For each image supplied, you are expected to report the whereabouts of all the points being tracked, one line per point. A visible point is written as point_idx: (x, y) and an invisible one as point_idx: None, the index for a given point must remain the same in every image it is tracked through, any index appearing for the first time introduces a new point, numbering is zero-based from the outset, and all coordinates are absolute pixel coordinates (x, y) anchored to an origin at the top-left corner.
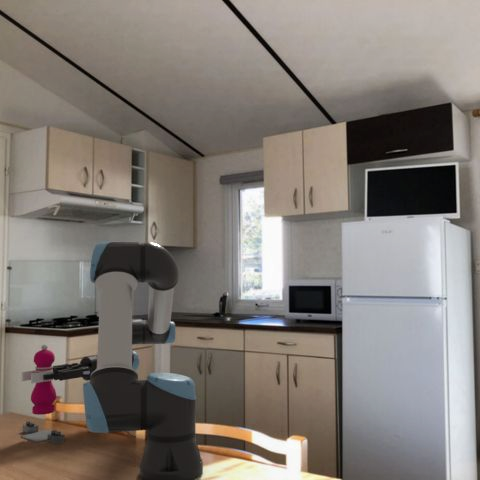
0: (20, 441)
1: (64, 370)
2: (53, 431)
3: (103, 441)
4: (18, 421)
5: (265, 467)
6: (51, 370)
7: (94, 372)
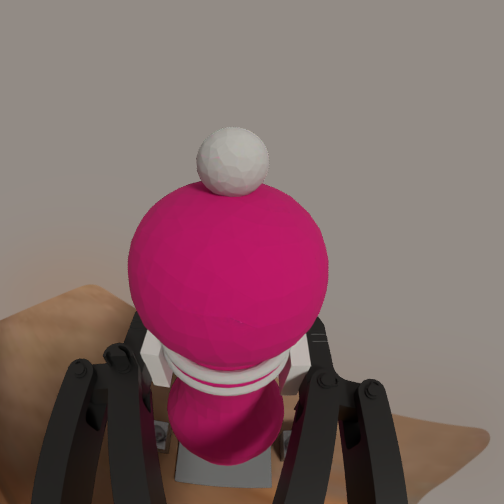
0: None
1: (108, 433)
2: None
3: None
4: (423, 450)
5: None
6: (165, 357)
7: None
